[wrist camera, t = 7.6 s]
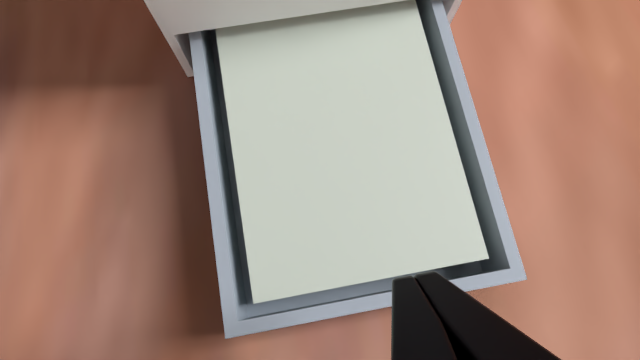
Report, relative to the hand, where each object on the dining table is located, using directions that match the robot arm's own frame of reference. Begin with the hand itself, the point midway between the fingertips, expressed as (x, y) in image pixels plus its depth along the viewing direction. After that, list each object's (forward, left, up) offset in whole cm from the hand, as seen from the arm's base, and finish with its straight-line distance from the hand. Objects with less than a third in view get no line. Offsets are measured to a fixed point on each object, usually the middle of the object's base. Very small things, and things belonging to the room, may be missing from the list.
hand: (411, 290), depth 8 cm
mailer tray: (+4, +3, -7) cm, 9 cm away
